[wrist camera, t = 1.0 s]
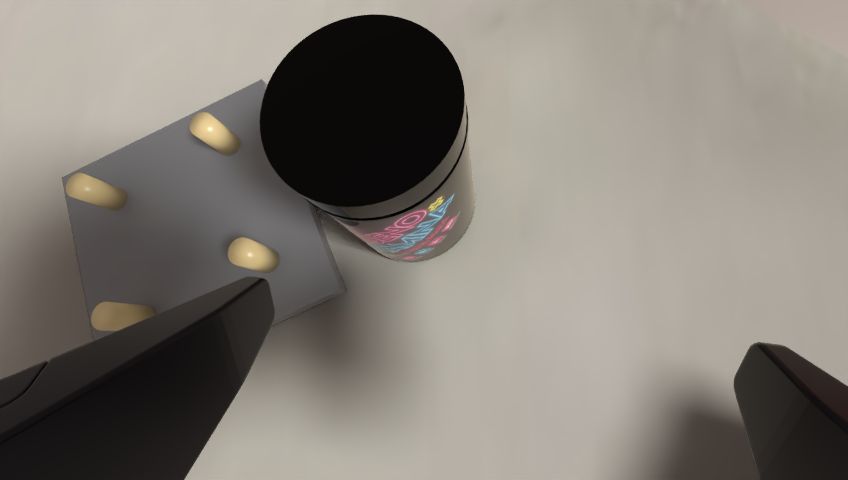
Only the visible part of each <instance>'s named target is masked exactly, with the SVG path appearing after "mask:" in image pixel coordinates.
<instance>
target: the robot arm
mask: <svg viewBox="0 0 848 480" xmlns="http://www.w3.org/2000/svg"><path fill="white" fill-rule="evenodd" d="M274 317H275V307H274V303H273V298H272V294H271V289H270V285H269V282H268V281H267V280H266V279H264V278H259V277H251V276H247V277H244V278H241V279H239V280H237V281H234V282H232V283H230V284H227V285H225V286H222V287H220V288H218V289H215V290H213V291H211V292H208V293H206V294H203V295H201V296H199V297H196V298H194V299H192V300H189V301H187V302H185V303H182V304H180V305H177V306H175V307H173V308H170V309H168V310H166V311H163V312H161V313H158V314H156V315H154V316H151V317H149V318H147V319H144V320H142V321H140V322H137V323H135V324H132V325H130V326H128V327H125V328H123V329H121V330H118V331H116V332H113V333H111V334H109V335H106V336H104V337H102V338H99V339H97V340H94V341H92V342H90V343H87V344H85V345H83V346H80V347H78V348H76V349H73V350H71V351H68V352H66V353H64V354H61V355H59V356H57V357H54V358H52V359H50V360H49V362H47V361H45V362H42V363H40V364H37V365H35V366H33V367H30V368H28V369H26V370H23V371H21V372H18V373H16V374H14V375H11V376H9V377H6V378H4V379H1V380H0V480H184V479H185V477H186V476H187V474H188V473H189V471H190V469H191V468H192V466H193V464H194V463H195V461H196V460H197V458H198V456H199V455H200V453H201V451H202V450H203V448H204V447H205V445H206V443H207V442H208V440H209V438H210V437H211V435H212V434H213V432H214V430H215V429H216V427H217V425H218V424H219V422H220V421H221V419H222V417H223V416H224V414H225V412H226V411H227V409H228V408H229V406H230V404H231V403H232V401H233V399H234V398H235V396H236V394H237V393H238V391H239V389H240V388H241V386H242V384H243V382H244V380H245V378H246V377H247V375H248V373H249V371H250V368H251V366H252V364H253V362H254V360H255V358H256V356H257V354H258V352H259V350H260V348H261V346H262V344H263V341H264V339H265V337H266V335H267V333H268V331H269V329H270V327H271V325H272V323H273V320H274ZM734 390H735V394H736V398H737V401H738V405H739V409H740V412H741V416H742V419H743V423H744V426H745V430H746V434H747V437H748V441H749V444H750V448H751V452H752V455H753V459H754V462H755V466H756V469H757V472H758V475H759V478H760V480H848V386H846V385H845V384H843V383H842V382H840V381H839V380H837V379H836V378H834V377H832V376H831V375H829V374H828V373H826V372H825V371H823V370H822V369H820V368H818V367H817V366H815V365H814V364H812V363H811V362H809V361H808V360H806V359H804V358H803V357H801V356H800V355H798V354H797V353H795V352H794V351H792V350H790V349H789V348H787V347H785V346H782V345H777V344H769V343H761V342H758V343H754V344H753V345H751V346H750V348H749V349H748V351H747V353H746V355H745V357H744V359H743V361H742V363H741V365H740V367H739V369H738V371H737V373H736V375H735V378H734Z"/></svg>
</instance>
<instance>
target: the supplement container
mask: <svg viewBox="0 0 848 480" xmlns="http://www.w3.org/2000/svg"><path fill="white" fill-rule="evenodd" d="M260 134H261V141H262V144H263V148H264V151H265V154H266V156H267V159H268V160H269V162H270V164H271V166H272V168H273V169H274V170H275V172H276V173H277V175H278V176H279V177H280V178H281V179H282V180H283V181H284V182H285V183H286V184H287V185H288V186H289V187H291V188H292V189H293V190H294V191H296V192H297V193H298V194H300V195H301V196H302V197H303V198H304V199H306V200H307V201H308V202H309V203H310V204H312V205H313V206H314V207H316V208H317V209H319V210H321V211H322V212H324V213H326V214H328V215H329V216H330V217H332V218H333V219H334V220H336V221H337V222H338V223H340V224H341V225H342V226H344V227H345V228H346V229H348V230H349V231H350V232H352V233H353V234H354V235H356V236H357V237H358V238H360V239H361V240H362V241H364V242H365V243H366V244H367V245H369V246H370V247H371V248H373V249H374V250H375V251H377V252H378V253H380V254H382V255H383V256H385V257H388V258H390V259H393V260H397V261H402V262H420V261H426V260H429V259H432V258H435V257H437V256H440V255H442V254H443V253H445V252H447V251H448V250H449V249H451V248H452V247H453V246H454V245H455V244H456V243H457V242H458V241H459V240H460V239H461V238H462V237H463V235H464V234H465V232H466V231H467V229H468V227H469V225H470V223H471V220H472V217H473V213H474V208H475V192H474V183H473V174H472V165H471V156H470V147H469V139H468V113H467V106H466V102H465V94H464V85H463V80H462V76H461V73H460V70H459V67H458V65H457V63H456V61H455V59H454V57H453V55H452V54H451V52H450V51H449V49H448V48H447V47H446V46H445V45H444V43H443V42H442V41H441V40H440V39H439V38H438V37H436V36H435V35H434V34H433V33H431V32H430V31H429V30H427V29H426V28H424V27H422V26H420V25H418V24H416V23H414V22H412V21H409V20H406V19H403V18H399V17H394V16H388V15H361V16H355V17H350V18H346V19H342V20H339V21H337V22H334V23H331V24H329V25H327V26H324V27H322V28H321V29H319V30H317V31H315V32H314V33H312V34H311V35H309V36H308V37H306V38H305V39H303V40H302V41H301V42H300V43H298V44H297V45H296V46H295V47H294V48H293V49H292V50H291V51H290V52H289V53H288V54H287V55H286V57H285V58H284V59H283V60H282V61H281V63H280V64H279V65H278V67H277V68H276V70H275V72H274V73H273V75H272V77H271V79H270V81H269V83H268V85H267V88H266V91H265V93H264V97H263V100H262V105H261V111H260Z"/></svg>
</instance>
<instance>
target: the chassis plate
mask: <svg viewBox="0 0 848 480" xmlns="http://www.w3.org/2000/svg"><path fill="white" fill-rule="evenodd" d="M266 88H267V85H266V84H265V82H264V81H263V80H260V81H258V82H256V83H254V84H252V85H250V86H247V87H245V88H243V89H241V90H239V91H237V92H235V93H233V94H231V95H229V96H227V97H225V98H223V99H221V100H219V101H217V102H215V103H213V104H211V105H209V106H207V107H205V108H203V109H201V110H199V111H197V112H195V113H193V114H190V115H188V116H186V117H184V118H182V119H180V120H178V121H176V122H174V123H172V124H170V125H168V126H166V127H164V128H162V129H160V130H158V131H156V132H154V133H152V134H150V135H148V136H146V137H144V138H142V139H140V140H138V141H135V142H133V143H131V144H129V145H127V146H125V147H123V148H121V149H119V150H117V151H115V152H113V153H111V154H109V155H107V156H105V157H103V158H101V159H99V160H97V161H95V162H93V163H91V164H89V165H87V166H85V167H83V168H81V169H78V170H76V171H74V172H72V173H70V174H68V175H66V176H64V177H62V181H63V186H64V191H65V196H66V201H67V207H68V212H69V217H70V222H71V227H72V232H73V238H74V243H75V248H76V253H77V258H78V264H79V269H80V274H81V279H82V284H83V289H84V295H85V300H86V305H87V310H88V315H89V320H90V326H91V331H92V336H93V341H94V340H97V339H99V338H102V337H104V336H106V335H109V334H111V333H113V332H116V331H118V330H121V329H123V328H125V327H128V326H130V325H132V324H135V323H137V322H140V321H142V320H144V319H147V318H149V317H151V316H154V315H156V314H158V313H161V312H163V311H166V310H168V309H170V308H173V307H175V306H177V305H180V304H182V303H185V302H187V301H189V300H192V299H194V298H196V297H199V296H201V295H203V294H206V293H208V292H211V291H213V290H215V289H218V288H220V287H222V286H225V285H227V284H230V283H232V282H234V281H237V280H239V279H241V278H244V277H247V276H251V277H259V278H264V279H266V280H267V281H268V282H269V285H270V289H271V294H272V298H273V303H274V307H275V317H274V320H273V323H272V325H271V326H273V325H275V324H278V323H280V322H282V321H284V320H286V319H288V318H291V317H293V316H295V315H297V314H299V313H301V312H304V311H306V310H308V309H310V308H312V307H315V306H317V305H319V304H321V303H323V302H325V301H328V300H330V299H332V298H334V297H336V296H338V295H341V294H343V293H345V292H346V289H345V286H344V284H343V281H342V279H341V276H340V273H339V271H338V268H337V265H336V263H335V260H334V257H333V255H332V252H331V249H330V247H329V244H328V241H327V239H326V236H325V233H324V231H323V228H322V225H321V223H320V220H319V217H318V215H317V212H316V209H315V207H314V206H313V205H312V204H310V203H309V202H308V201H307V200H306V199H304V198H303V197H302V196H301V195H300V194H298V193H297V192H296V191H294V190H293V189H292V188H291V187H289V186H288V185H287V184H286V183H285V182H284V181H283V180H282V179H281V178H280V177H279V176H278V175H277V173H276V172H275V170H274V169H273V168H272V166H271V164H270V162H269V160H268V159H267V156H266V154H265V151H264V148H263V144H262V141H261V134H260V111H261V105H262V100H263V97H264V93H265V91H266Z"/></svg>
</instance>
